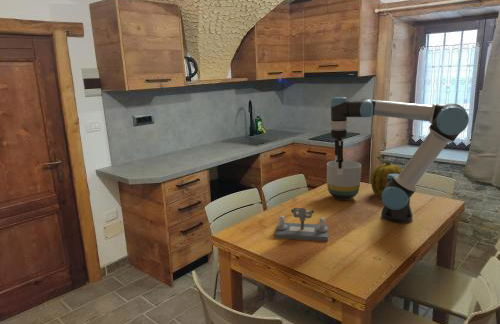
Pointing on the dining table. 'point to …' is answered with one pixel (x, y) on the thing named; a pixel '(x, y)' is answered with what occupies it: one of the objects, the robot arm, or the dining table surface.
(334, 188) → the planter
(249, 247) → the dining table surface
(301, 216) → the mechanical component
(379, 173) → the pumpkin
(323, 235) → the gear board
